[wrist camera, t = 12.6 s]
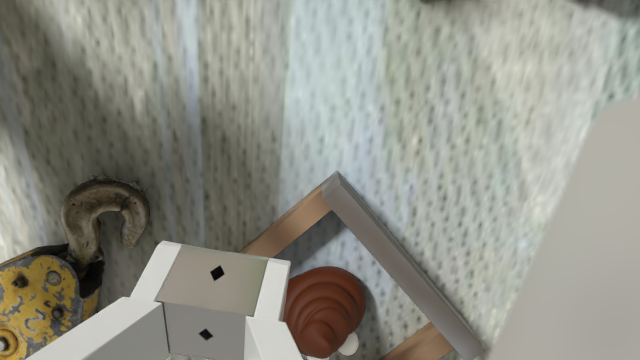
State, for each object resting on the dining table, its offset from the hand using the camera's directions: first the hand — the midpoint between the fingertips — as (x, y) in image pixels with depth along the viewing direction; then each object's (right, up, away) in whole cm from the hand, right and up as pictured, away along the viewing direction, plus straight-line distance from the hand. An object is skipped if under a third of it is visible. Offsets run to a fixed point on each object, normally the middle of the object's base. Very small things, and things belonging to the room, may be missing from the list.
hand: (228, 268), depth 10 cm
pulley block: (-25, -9, +37) cm, 45 cm away
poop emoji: (+2, -11, +37) cm, 39 cm away
